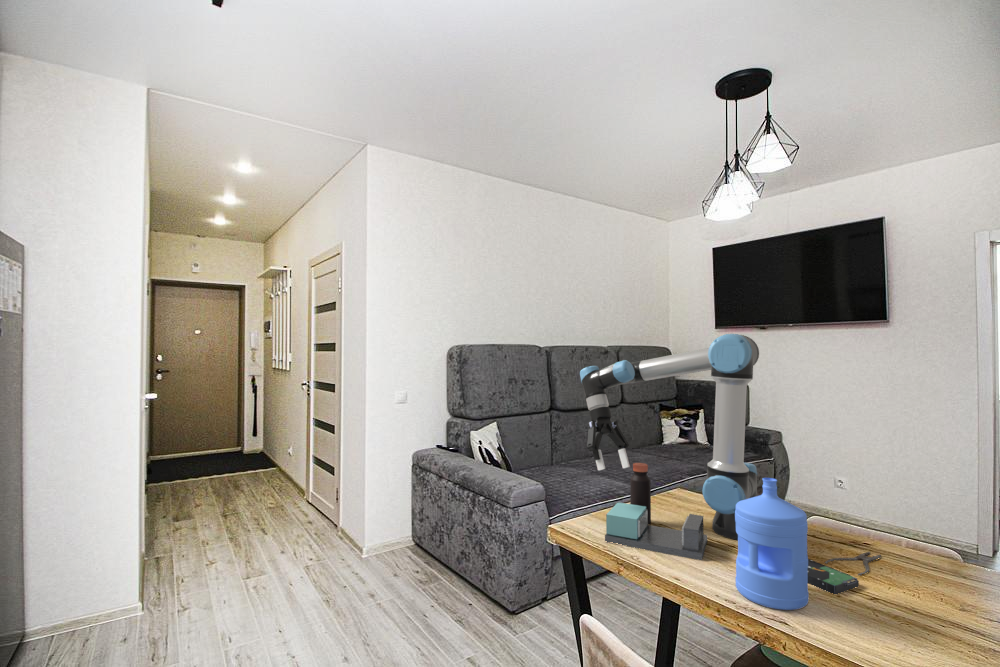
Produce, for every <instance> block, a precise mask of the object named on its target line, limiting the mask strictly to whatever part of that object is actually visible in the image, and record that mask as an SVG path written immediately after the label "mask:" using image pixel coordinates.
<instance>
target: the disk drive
mask: <svg viewBox="0 0 1000 667" xmlns="http://www.w3.org/2000/svg"><path fill="white" fill-rule="evenodd" d="M859 583H860V581H859V579H858V578H857V577H855V576H853V575H850V574H848V573H846V572H843V571H840V570H838V569H835V568H833V567H830V566H828V565H826V564H822V563H820V562H817V561H814V560H812V559H809V558H808V585H811V586H813V585H814V586H813V587H815V586H816V588H818V587H819V588H818V589H820V588H821V590H822V589H823V591H824V590H826V591H825V592H827V591H828V593H829V592H830V593H829V594H832V593H833V594H832V595H834V594H837V595H839V594H838V593H840V594H842V593H841V592H843V593H845V592H848V591H850V590H849V589H851V590H854V589H856V588H855V587H857V588H859V587H858V586H859V585H860V584H859ZM853 588H854V589H853ZM847 590H848V591H847ZM844 591H845V592H844Z"/></svg>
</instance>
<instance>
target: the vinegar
mask: <svg viewBox="0 0 1000 667" xmlns="http://www.w3.org/2000/svg"><path fill="white" fill-rule="evenodd" d="M648 466H649V465H648V464H647V463H645V462H633V463H632V470H633V475H632V476H631V477H630V482H629V483H630V484H629V485H630V486H629V489H630V494H629V495H630V496H629V499H630V502H629V504H632V505H639V506H645V507H646V509H648V525H651V524H652V523H651V521H652V513H651V512H652V511H651V510H652V506H651V505H652V504H651V503H652V502H651V501H652V500H651V499H652V498H651V496H652V494H651V493H652V492H651V491H652V488H651V487H652V486H651V485H652V484H651V483H652V481H651V480H652V479H651V478H650V477H649V476H648V472H649V470H648V469H649V467H648Z"/></svg>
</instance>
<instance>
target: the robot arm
mask: <svg viewBox="0 0 1000 667" xmlns="http://www.w3.org/2000/svg"><path fill="white" fill-rule="evenodd" d="M758 346H759V345H758V344H757V342H755V340H753V339H752V338H750V337H749V336H746V335H742V334H738V333H726V334H723V335H720V336H718V337H717V338H715V339H714V340H713V341H712V342H711V343H710V345H709V347H705V348H700V349H695V350H691V351H686V352H685V351H684V352H679V353H676V354H675V353H674V354H670V355H665V356H660V357H654V358H648V359H644V360H638V361H634V362H630V361H628V360H626V359H623V360H621V361H616V362H615V363H612V364H610V365H608V366H605V367H603V368H599V365H590V366H586V367H584V368H582V369H581V370H580V371H579V376H580V383H581V385H582V389H583V392H584V393H583V394H584V396H585V400H586V406H587V409H588V411H589V412H588V413H589V417H590V421H588V422H587V428H588V430H587V432H588V433H587V442H586V449H587V450H589V451H590V452H592V454H593V458H594V460H595V463H596V464H595V465H596V467H597V468H596V469H597V471H603V470H606V466H605V461H604V456H603V453H602V450H601V449H599V448H600V446H601V442H602V437H603V436H607V437H609V438H610V439H611V441H612V442H613V443H614V444H615V446H616V447H617V448H618V450H617V452H618V455H619V460H620V463H621V466H622V469H628V468H631V465H630V462H629V457H628V452H627V448H629V446H630V444H629V442H628V440H627V438H626V437H625V435H624V433H623V432H622V430H621V429H620V427H619V423H618V421H616V420H615V421H611V418H612V416H613V415H612V411H611V407H609V405H610V403H609V400H608V397H607V394H606V390H608V389H611V388H613V387H617V386H620V385H628V384H636V383H641V382H646V381H651V380H657V379H665V378H669V377H670V378H671V377H676V376H681V375H689V374H694V373H701V372H706V371H710V373H711V374H710V378H712V379H713V380H714V382H715V402H714V403H715V404H714V426H713V446H712V447H713V448H712V450H713V451H712V460H710V461H709V462H707V465H706V466H707V467H706V468H707V469H706V479H705V481H704V483H703V485H702V497H703V499H704V501H705V502H706V504H707V505H708V507H709V508H711V509H712V510H713V511H715V513H714V516H713V519H712V522H711V523H712V526H711V527H712V531H713V532H714V533H715V534H717V535H718V536H721V537H724V538H727V539H731V540H736V541H738V534H737V533H736V522H735V510H736V504H737V503H738V502H739V501H742V500H745V499H749V498H752V497H756V496H758V470H757V469H758V468H757V466H756V465H755V464H754V463H751V462H749V463H748V462H746V461H745V462H744V459H745V440H746V439H745V437H746V433H745V432H746V415H747V414H746V412H747V393H748V392H747V391H748V390H747V388H748V387H747V386H748V384H749V383H750V382H752V381H753V379H754V377H753V376H754V366H755V365H756V364H757V363H758V361H759V358H760V350H759V348H760V347H758Z"/></svg>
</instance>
